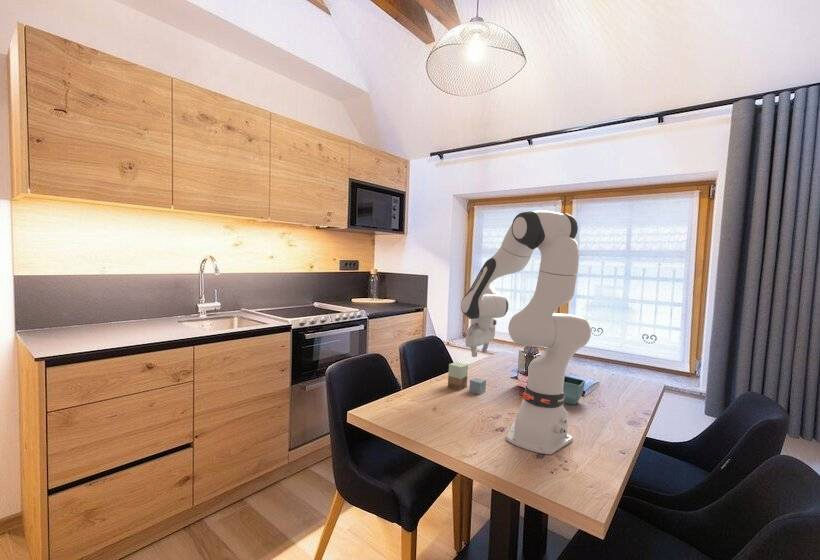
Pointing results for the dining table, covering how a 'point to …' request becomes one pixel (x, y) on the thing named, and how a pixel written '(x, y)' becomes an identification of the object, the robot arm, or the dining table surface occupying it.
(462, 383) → the walnut block
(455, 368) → the sage block
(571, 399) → the flower pot
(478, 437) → the dining table surface
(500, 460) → the dining table surface
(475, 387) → the slate cube
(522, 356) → the candy bar box
